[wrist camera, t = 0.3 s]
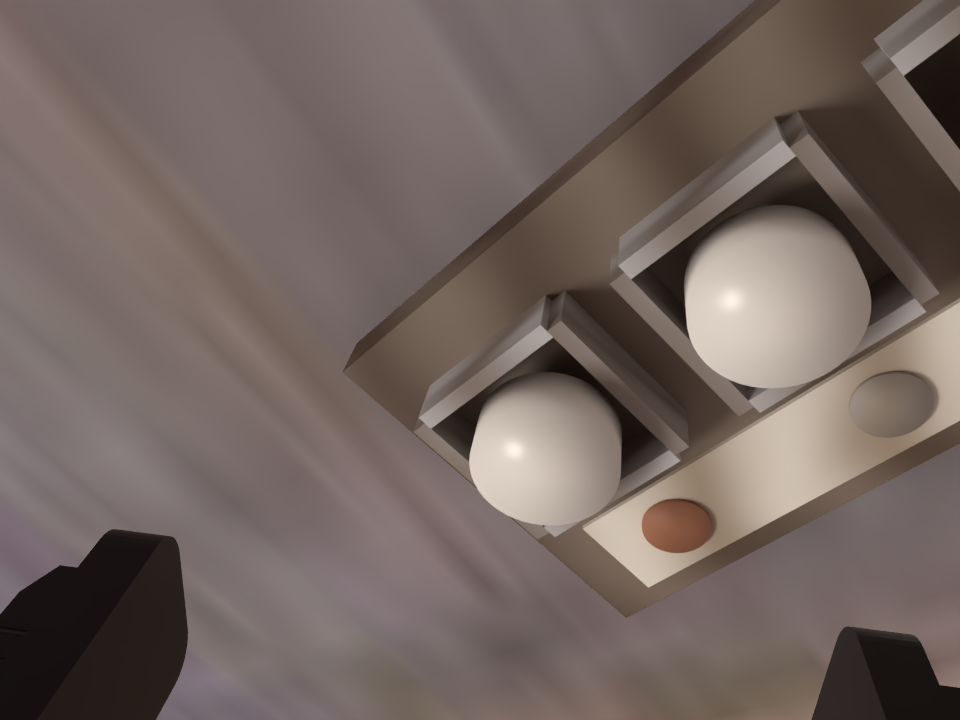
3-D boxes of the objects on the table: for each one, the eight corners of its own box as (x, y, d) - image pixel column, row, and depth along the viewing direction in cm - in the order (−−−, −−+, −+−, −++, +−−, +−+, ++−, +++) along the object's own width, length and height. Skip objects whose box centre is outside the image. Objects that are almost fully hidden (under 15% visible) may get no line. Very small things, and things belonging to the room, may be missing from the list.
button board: (1091, -289, 22) (1170, -299, 19) (1364, 179, 27) (1466, 236, 24) (356, 343, 35) (327, 403, 32) (626, 582, 40) (625, 656, 37)
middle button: (790, 170, 26) (800, 198, 24) (891, 290, 27) (907, 324, 25) (649, 274, 28) (650, 306, 26) (750, 379, 29) (756, 415, 28)
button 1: (553, 345, 30) (548, 379, 28) (652, 441, 31) (653, 478, 30) (449, 423, 32) (438, 459, 31) (545, 508, 34) (540, 547, 32)
